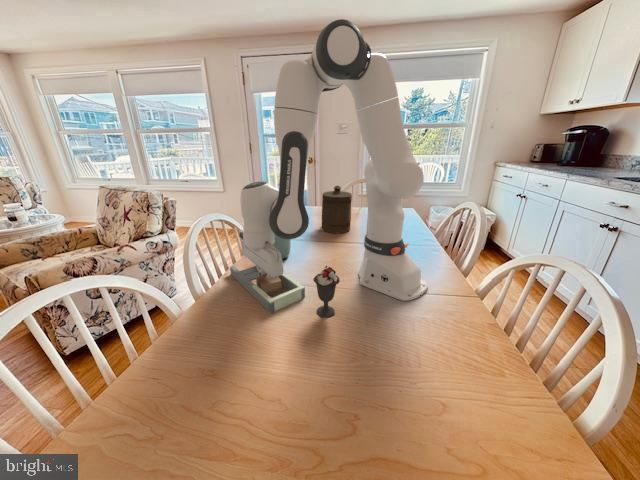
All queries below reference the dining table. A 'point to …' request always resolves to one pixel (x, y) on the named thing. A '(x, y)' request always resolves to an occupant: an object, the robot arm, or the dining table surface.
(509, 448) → the dining table surface
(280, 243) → the cup
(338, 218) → the wooden container
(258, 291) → the box
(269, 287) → the block
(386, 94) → the robot arm
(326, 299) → the sundae
